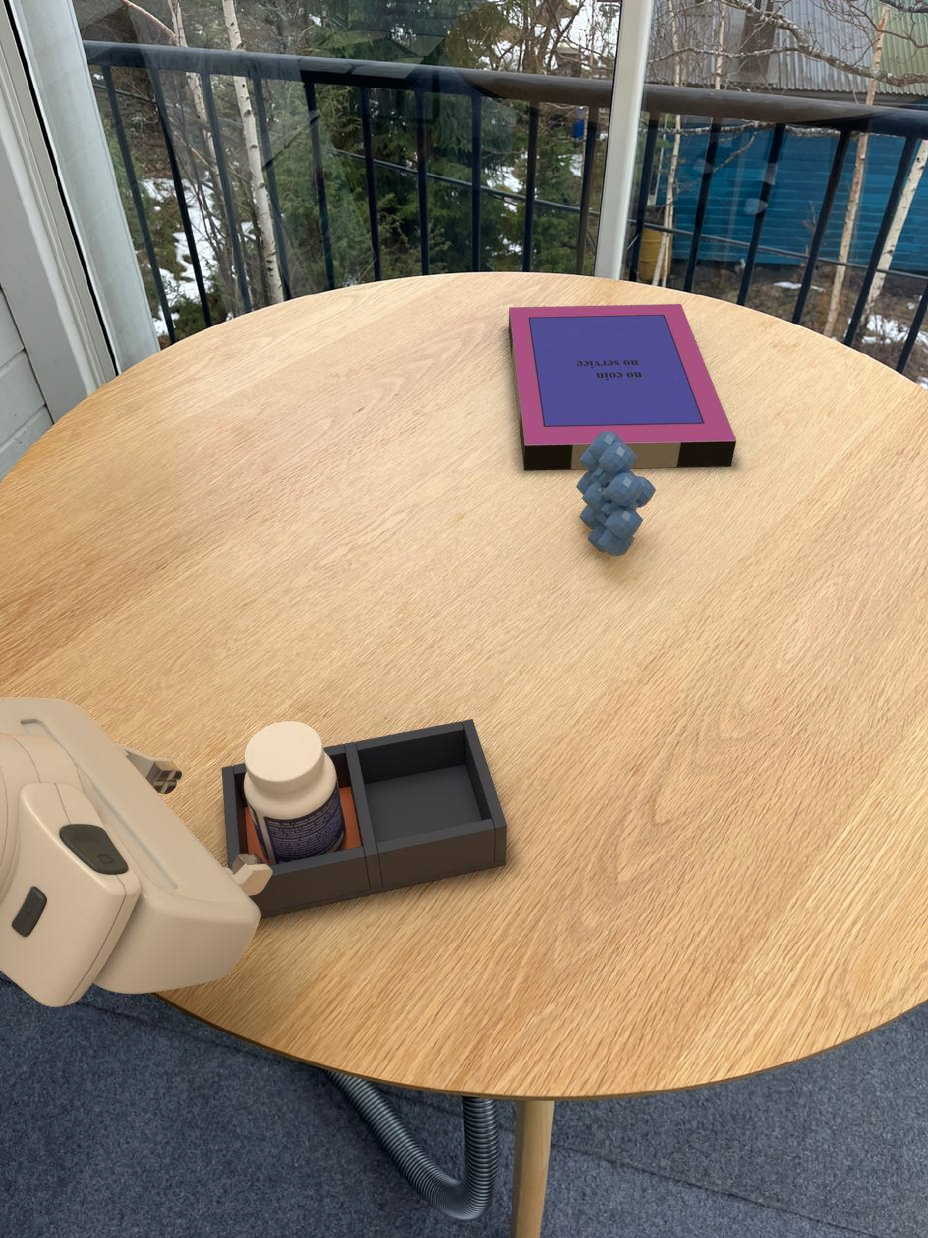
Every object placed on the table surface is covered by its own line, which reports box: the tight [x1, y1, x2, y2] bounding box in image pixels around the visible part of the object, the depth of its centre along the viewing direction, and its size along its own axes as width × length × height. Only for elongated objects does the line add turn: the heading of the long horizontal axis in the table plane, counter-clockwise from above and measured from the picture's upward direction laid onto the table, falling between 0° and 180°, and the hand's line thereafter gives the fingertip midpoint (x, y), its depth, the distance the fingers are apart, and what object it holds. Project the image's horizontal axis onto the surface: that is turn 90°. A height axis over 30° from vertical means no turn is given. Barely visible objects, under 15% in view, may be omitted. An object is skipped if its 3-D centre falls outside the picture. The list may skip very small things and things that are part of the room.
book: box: [508, 303, 737, 471], centre depth 105 cm, size 21×3×30 cm
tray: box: [221, 718, 508, 920], centre depth 63 cm, size 17×9×5 cm, turn 104°
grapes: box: [575, 431, 657, 558], centre depth 82 cm, size 12×7×12 cm, turn 10°
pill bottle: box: [243, 720, 346, 866], centre depth 60 cm, size 6×6×10 cm
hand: (214, 822), depth 56 cm, fingers open, 8 cm apart
